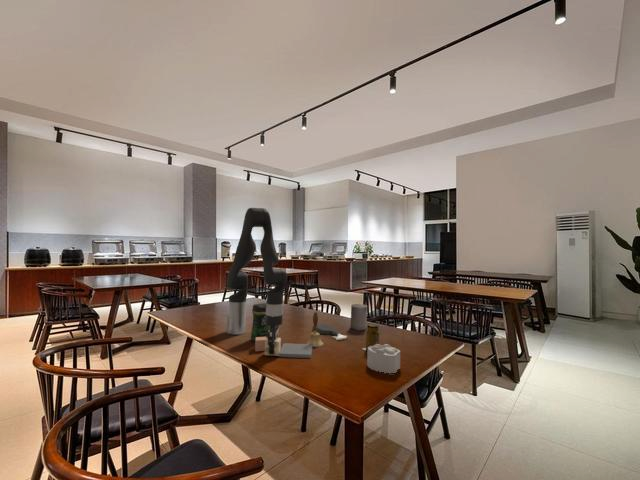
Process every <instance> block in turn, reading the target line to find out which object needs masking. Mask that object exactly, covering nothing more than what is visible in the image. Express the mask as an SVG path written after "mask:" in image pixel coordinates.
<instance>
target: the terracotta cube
mask: <svg viewBox="0 0 640 480" xmlns="http://www.w3.org/2000/svg"><path fill="white" fill-rule="evenodd" d="M266 339H267V338H266V337H256V338H255V341H254V342H255V345H254V350H255V352H265V341H266Z"/></svg>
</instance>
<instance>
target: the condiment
mask: <svg viewBox="0 0 640 480" xmlns="http://www.w3.org/2000/svg"><path fill="white" fill-rule="evenodd" d="M366 329H367V330H365V331H366V333H365V334H366V335H365V337H366V338H365V347H362V348H361V349H362V350H363V351H365V352H367V353H368V347H370V346H374V345H376V344H379V343H380V330H379V325H378V324H376V323H368V324H367V325H366Z"/></svg>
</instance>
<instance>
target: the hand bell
mask: <svg viewBox="0 0 640 480" xmlns="http://www.w3.org/2000/svg"><path fill="white" fill-rule="evenodd" d="M312 316H313V317H312V323H313V326H314V330H313V332H311V333H310V337H309V339H308V341H307V342H306V344H313V345H312V348H318V347H319V348H320V347H322V346H323V345H324V342H322V340H321V336H320V335H321V334H320V333H318V332H317V325H318V323H319V316H318V312H317V311H314V312H313V315H312Z"/></svg>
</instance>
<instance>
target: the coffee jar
mask: <svg viewBox="0 0 640 480" xmlns="http://www.w3.org/2000/svg"><path fill="white" fill-rule="evenodd" d="M266 305H267V302H263V303H257V304H253V305H252V309H251V311H252V327H251V335H250V339H251V341H253V342H255V338H256V337H266V338H268V331H269V329H270V326H269V325H266V323H265V321H266Z"/></svg>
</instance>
